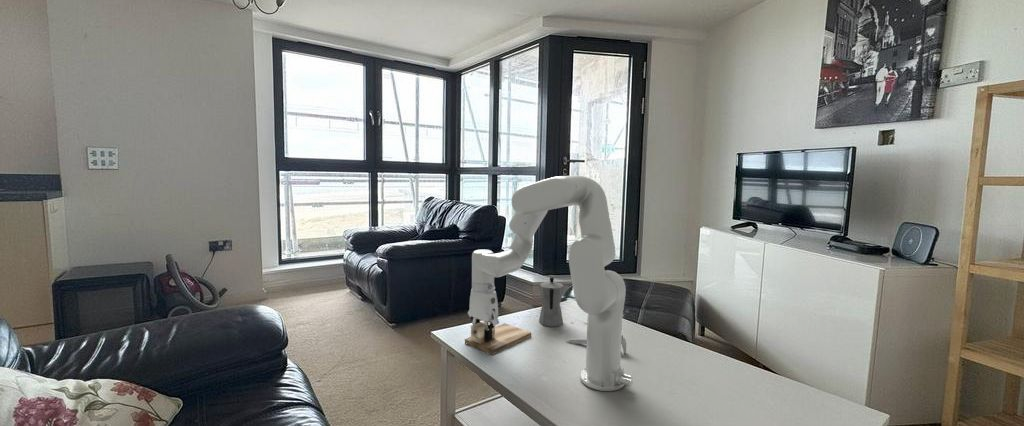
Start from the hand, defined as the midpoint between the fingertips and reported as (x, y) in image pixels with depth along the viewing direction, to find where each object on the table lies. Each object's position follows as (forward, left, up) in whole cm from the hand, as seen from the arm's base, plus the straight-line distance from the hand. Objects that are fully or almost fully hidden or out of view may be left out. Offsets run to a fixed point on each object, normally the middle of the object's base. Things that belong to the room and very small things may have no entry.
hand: (482, 337), depth 144 cm
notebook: (-2, -6, -2) cm, 6 cm away
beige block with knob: (0, 0, 0) cm, 0 cm away
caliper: (-30, -24, -2) cm, 38 cm away
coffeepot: (-6, -31, -2) cm, 31 cm away
